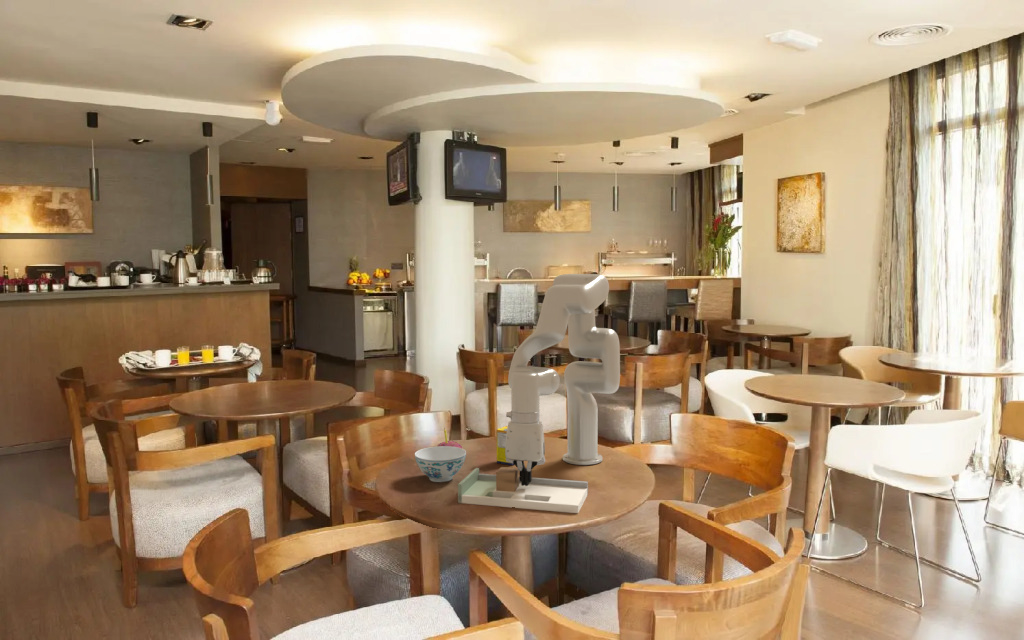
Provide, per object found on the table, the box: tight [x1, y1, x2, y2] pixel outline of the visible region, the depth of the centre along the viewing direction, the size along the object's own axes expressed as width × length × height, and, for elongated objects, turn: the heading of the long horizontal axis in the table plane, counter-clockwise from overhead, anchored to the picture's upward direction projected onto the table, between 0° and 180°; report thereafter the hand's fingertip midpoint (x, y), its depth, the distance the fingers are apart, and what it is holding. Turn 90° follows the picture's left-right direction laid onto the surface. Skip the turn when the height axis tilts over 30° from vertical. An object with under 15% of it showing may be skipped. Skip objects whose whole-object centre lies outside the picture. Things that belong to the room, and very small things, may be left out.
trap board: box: [457, 467, 589, 514], centre depth 188 cm, size 15×32×5 cm, turn 75°
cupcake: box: [437, 427, 463, 449], centre depth 221 cm, size 9×8×12 cm
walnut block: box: [495, 466, 520, 492], centre depth 190 cm, size 5×5×5 cm
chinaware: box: [414, 445, 467, 483], centre depth 206 cm, size 15×15×8 cm
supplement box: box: [495, 425, 515, 466], centre depth 222 cm, size 6×6×11 cm
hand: (525, 484), depth 189 cm, fingers closed
